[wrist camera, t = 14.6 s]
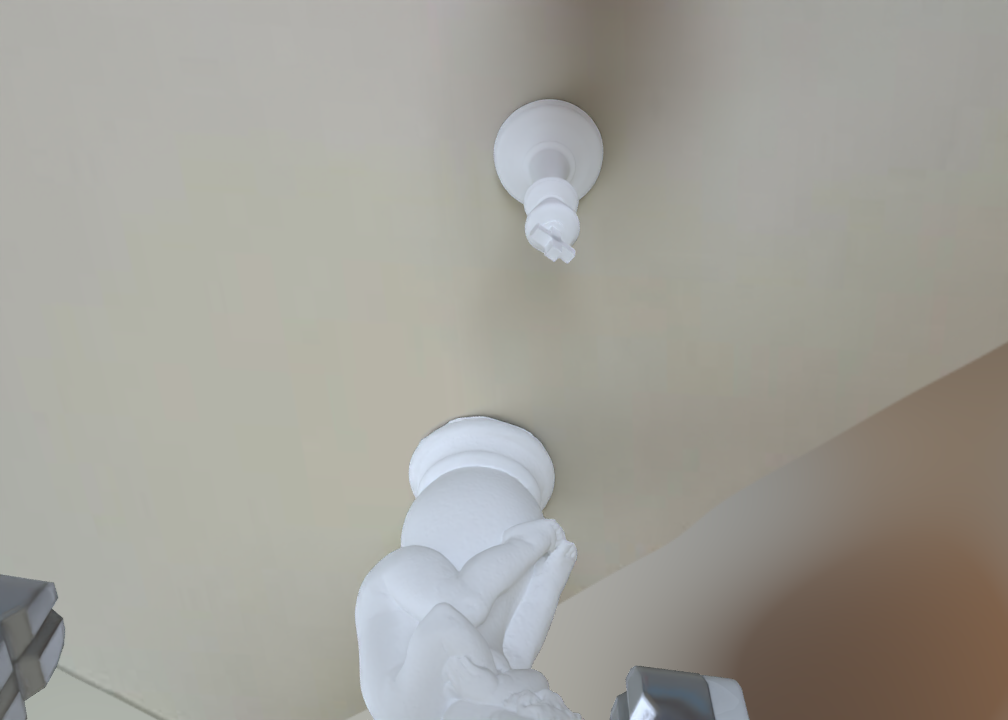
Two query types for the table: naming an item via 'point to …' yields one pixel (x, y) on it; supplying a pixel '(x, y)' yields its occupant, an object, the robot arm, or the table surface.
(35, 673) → the robot arm
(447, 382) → the table surface
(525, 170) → the chess piece
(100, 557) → the table surface
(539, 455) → the cherub figurine
